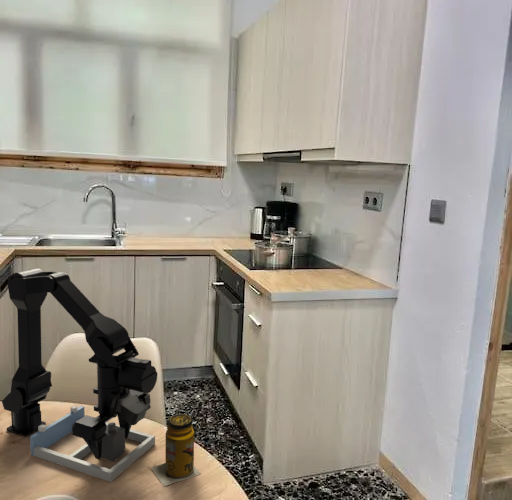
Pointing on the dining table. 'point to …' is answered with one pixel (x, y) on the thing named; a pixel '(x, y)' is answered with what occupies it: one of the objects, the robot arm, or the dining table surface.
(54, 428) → the organiser
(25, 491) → the dining table surface
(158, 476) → the condiment
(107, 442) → the grey cube with knob
